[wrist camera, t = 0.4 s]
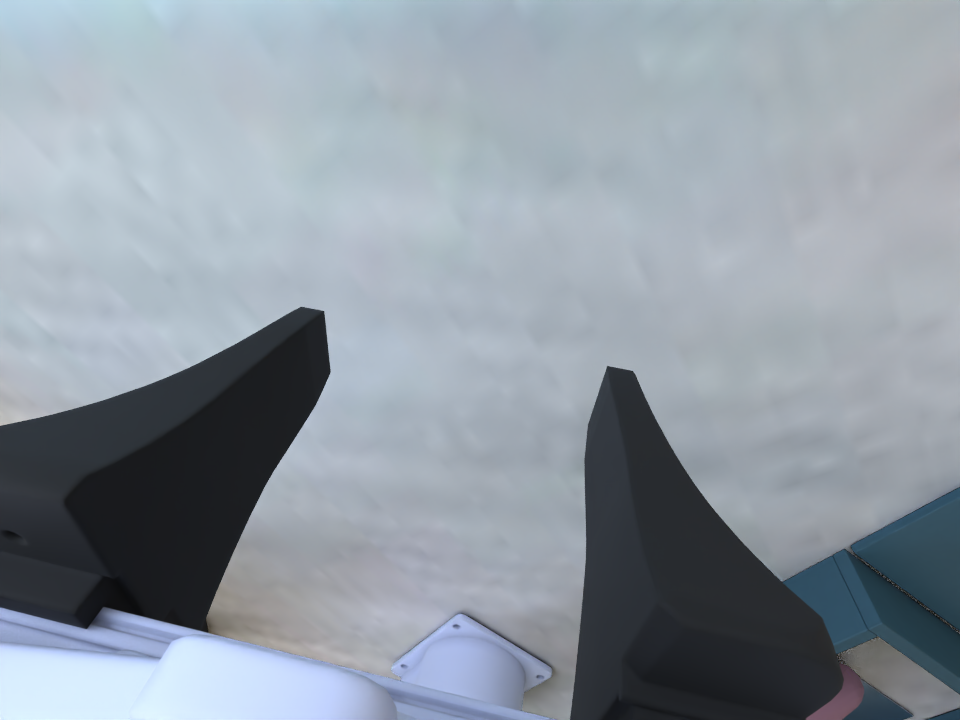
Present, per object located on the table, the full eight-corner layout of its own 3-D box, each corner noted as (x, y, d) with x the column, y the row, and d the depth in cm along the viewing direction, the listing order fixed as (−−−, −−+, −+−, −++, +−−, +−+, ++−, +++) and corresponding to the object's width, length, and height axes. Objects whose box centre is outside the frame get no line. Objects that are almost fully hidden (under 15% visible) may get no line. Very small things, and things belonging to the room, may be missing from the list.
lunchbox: (767, 778, 39) (785, 852, 35) (604, 677, 36) (605, 745, 33) (1451, 556, 22) (1618, 654, 18) (1233, 339, 20) (1377, 404, 16)
